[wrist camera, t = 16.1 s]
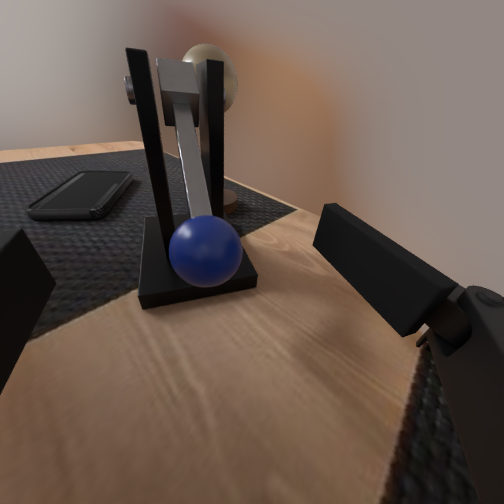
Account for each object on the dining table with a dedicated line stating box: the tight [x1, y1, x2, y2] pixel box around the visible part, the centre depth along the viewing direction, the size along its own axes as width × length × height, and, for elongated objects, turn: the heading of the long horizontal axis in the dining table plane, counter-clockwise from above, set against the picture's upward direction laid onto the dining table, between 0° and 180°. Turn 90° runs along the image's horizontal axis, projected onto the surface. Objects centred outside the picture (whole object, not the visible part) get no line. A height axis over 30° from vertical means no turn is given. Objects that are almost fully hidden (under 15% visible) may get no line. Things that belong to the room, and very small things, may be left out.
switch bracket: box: [124, 48, 258, 309], centre depth 17 cm, size 12×9×15 cm
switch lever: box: [156, 58, 243, 287], centre depth 12 cm, size 14×4×4 cm
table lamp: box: [182, 44, 238, 215], centre depth 26 cm, size 7×7×17 cm
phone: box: [25, 170, 133, 220], centre depth 30 cm, size 8×1×15 cm
